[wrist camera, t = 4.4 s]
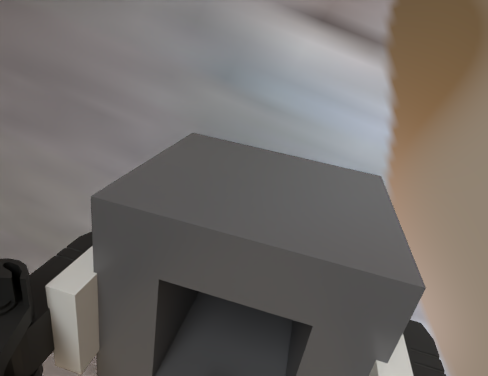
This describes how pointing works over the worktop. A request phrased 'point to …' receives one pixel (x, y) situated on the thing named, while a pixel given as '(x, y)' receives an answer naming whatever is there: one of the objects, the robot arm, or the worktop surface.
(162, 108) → the worktop surface
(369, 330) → the gray square frame
